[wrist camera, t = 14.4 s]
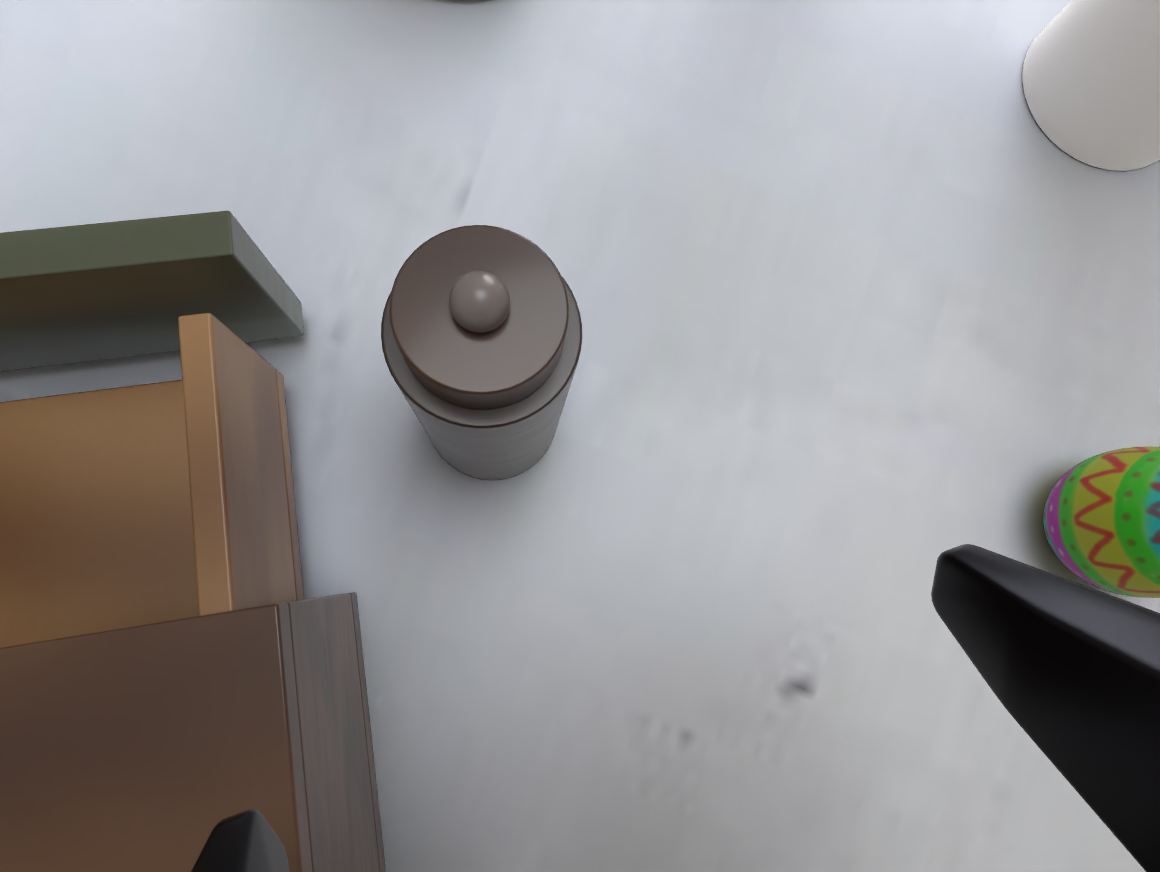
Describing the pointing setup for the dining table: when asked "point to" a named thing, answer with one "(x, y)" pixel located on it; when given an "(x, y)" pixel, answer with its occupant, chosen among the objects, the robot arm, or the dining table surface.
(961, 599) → the robot arm
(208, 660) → the cabinet
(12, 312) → the drawer
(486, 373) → the lidded jar
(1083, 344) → the dining table surface
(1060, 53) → the cylindrical container
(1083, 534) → the egg
